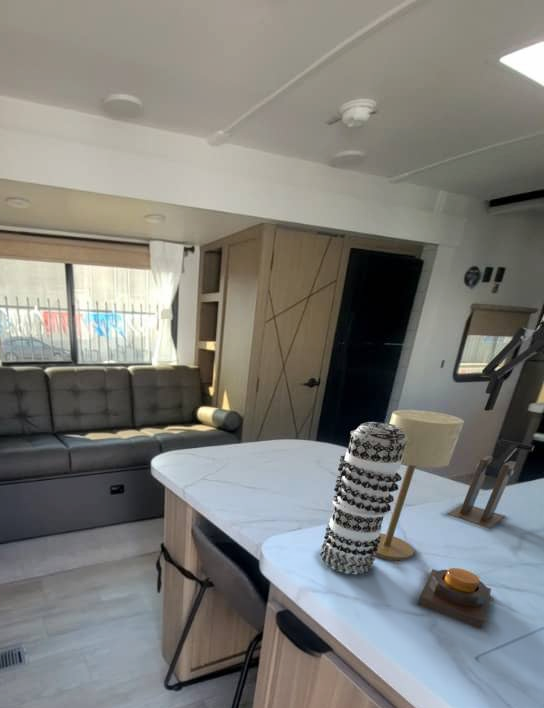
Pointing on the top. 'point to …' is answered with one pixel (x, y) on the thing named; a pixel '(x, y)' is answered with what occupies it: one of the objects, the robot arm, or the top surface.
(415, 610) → the top surface
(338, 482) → the decorative candle
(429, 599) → the button block
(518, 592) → the top surface
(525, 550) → the top surface
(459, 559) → the top surface
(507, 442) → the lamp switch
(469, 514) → the stand
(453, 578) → the button
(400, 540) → the lamp
